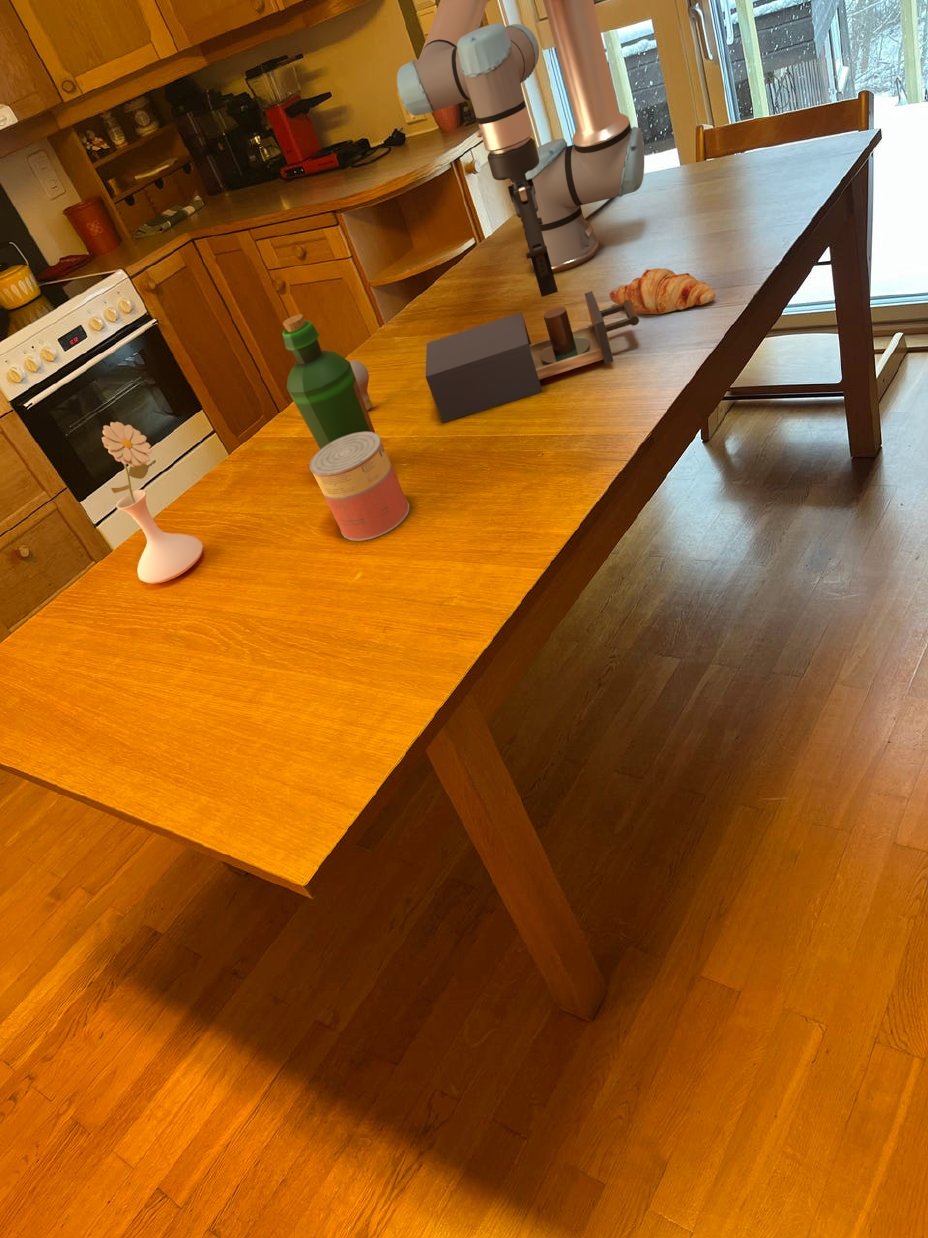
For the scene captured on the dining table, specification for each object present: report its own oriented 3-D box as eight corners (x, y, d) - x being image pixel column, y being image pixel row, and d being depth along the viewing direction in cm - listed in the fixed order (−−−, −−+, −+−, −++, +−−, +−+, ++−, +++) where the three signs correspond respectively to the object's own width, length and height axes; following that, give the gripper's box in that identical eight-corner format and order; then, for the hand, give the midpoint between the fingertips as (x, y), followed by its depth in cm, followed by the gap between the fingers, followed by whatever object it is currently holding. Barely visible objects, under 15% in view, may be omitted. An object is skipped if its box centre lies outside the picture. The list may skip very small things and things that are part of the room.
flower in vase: (174, 593, 141) (84, 458, 126) (130, 586, 148) (40, 457, 133) (227, 542, 149) (148, 409, 134) (183, 538, 155) (103, 410, 140)
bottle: (402, 454, 152) (336, 297, 136) (379, 491, 145) (307, 329, 128) (349, 462, 157) (279, 310, 140) (324, 497, 150) (247, 341, 133)
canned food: (423, 503, 137) (395, 435, 130) (373, 546, 132) (341, 478, 125) (376, 492, 145) (347, 428, 138) (327, 533, 140) (294, 468, 133)
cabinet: (535, 357, 165) (521, 311, 160) (542, 391, 153) (528, 343, 148) (442, 387, 168) (426, 342, 163) (442, 423, 157) (425, 376, 151)
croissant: (725, 314, 161) (729, 266, 159) (700, 312, 154) (704, 262, 151) (622, 315, 174) (624, 271, 172) (594, 314, 167) (596, 268, 164)
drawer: (632, 318, 161) (624, 279, 157) (647, 350, 149) (639, 309, 145) (504, 360, 165) (493, 323, 161) (509, 394, 154) (496, 355, 149)
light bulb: (386, 401, 172) (366, 353, 166) (373, 416, 168) (353, 367, 163) (363, 403, 175) (343, 356, 169) (350, 418, 171) (329, 371, 165)
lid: (539, 351, 161) (527, 311, 157) (587, 335, 160) (576, 294, 155) (543, 370, 154) (531, 329, 150) (593, 355, 153) (583, 312, 148)
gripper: (483, 137, 147) (519, 264, 160) (489, 171, 127) (529, 313, 140) (527, 121, 146) (560, 250, 158) (540, 153, 126) (576, 297, 139)
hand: (545, 280), depth 149 cm, fingers open, 13 cm apart
